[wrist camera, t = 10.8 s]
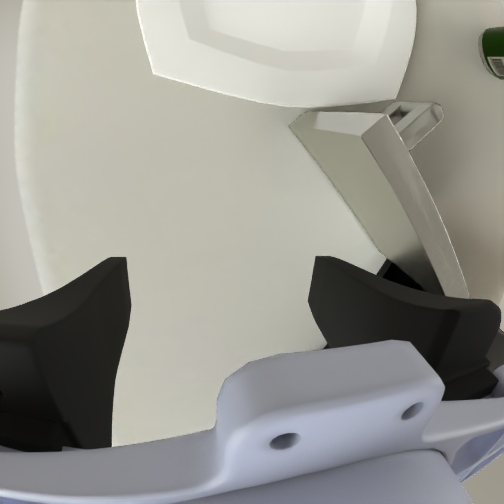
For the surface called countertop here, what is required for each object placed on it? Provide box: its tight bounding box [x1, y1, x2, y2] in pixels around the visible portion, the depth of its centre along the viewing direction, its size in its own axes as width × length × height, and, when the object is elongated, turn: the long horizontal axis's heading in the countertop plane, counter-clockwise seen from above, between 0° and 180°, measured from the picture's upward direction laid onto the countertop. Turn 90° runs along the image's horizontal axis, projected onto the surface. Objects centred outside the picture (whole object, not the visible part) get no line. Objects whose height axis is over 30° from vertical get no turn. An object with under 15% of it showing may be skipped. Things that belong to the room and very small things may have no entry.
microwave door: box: [288, 101, 470, 299], centre depth 18 cm, size 7×13×10 cm, turn 41°
